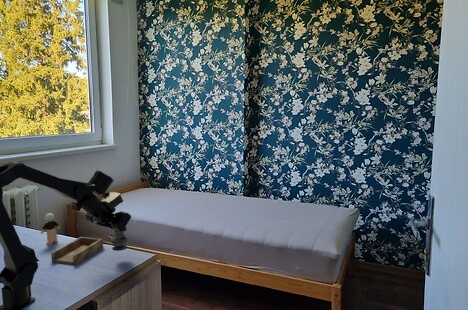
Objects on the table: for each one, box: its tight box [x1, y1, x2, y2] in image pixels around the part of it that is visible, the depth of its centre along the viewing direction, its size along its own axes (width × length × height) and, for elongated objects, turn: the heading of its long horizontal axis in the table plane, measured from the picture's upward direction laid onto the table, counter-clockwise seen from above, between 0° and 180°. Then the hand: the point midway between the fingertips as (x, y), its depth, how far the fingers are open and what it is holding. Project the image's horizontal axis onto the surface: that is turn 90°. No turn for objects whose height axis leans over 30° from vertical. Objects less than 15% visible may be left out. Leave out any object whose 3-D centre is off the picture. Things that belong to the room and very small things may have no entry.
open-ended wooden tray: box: [50, 236, 104, 266], centre depth 132 cm, size 16×10×4 cm, turn 166°
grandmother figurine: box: [40, 212, 61, 246], centre depth 142 cm, size 8×4×13 cm, turn 157°
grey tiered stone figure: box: [110, 230, 129, 252], centre depth 126 cm, size 6×6×12 cm
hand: (122, 229), depth 127 cm, fingers closed on grey tiered stone figure, 4 cm apart
